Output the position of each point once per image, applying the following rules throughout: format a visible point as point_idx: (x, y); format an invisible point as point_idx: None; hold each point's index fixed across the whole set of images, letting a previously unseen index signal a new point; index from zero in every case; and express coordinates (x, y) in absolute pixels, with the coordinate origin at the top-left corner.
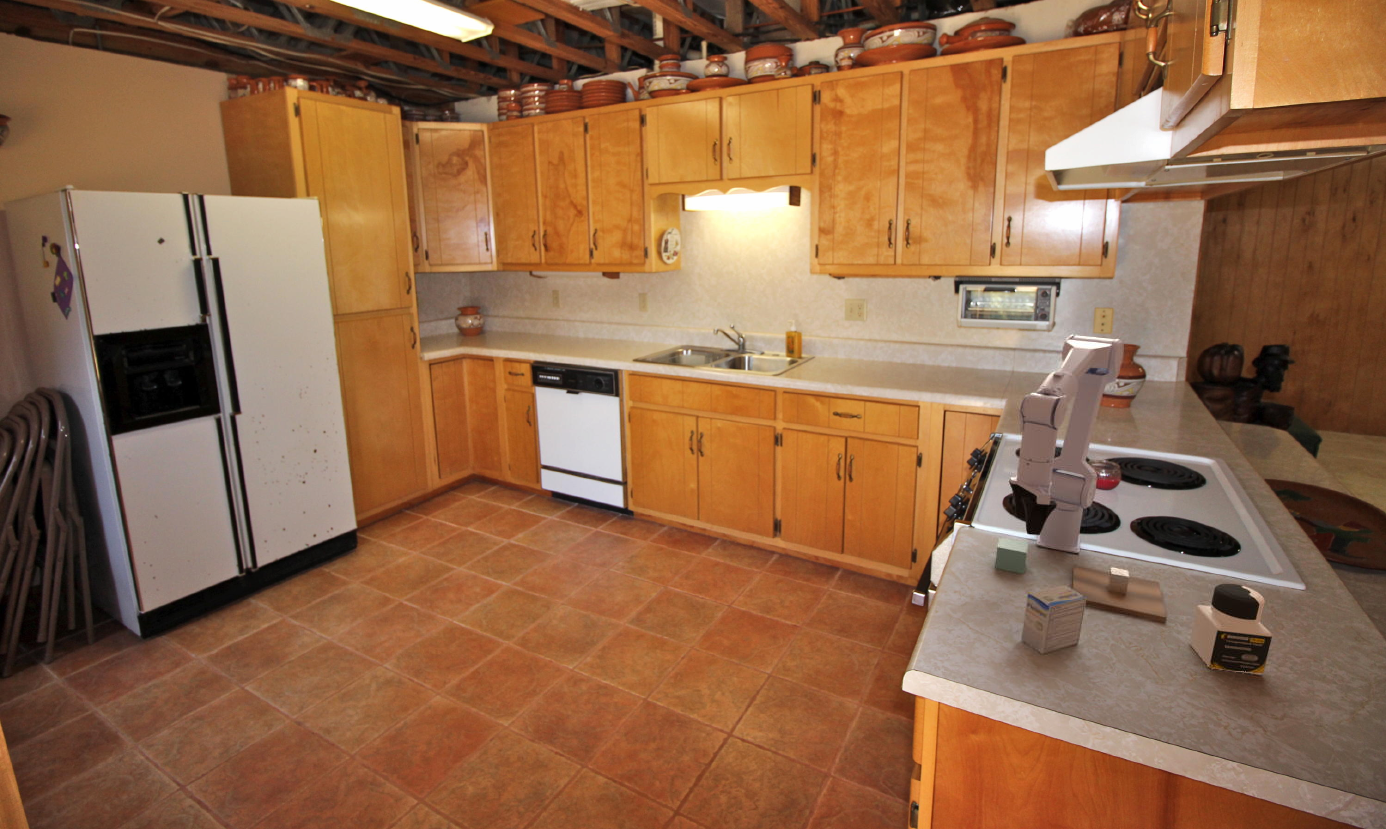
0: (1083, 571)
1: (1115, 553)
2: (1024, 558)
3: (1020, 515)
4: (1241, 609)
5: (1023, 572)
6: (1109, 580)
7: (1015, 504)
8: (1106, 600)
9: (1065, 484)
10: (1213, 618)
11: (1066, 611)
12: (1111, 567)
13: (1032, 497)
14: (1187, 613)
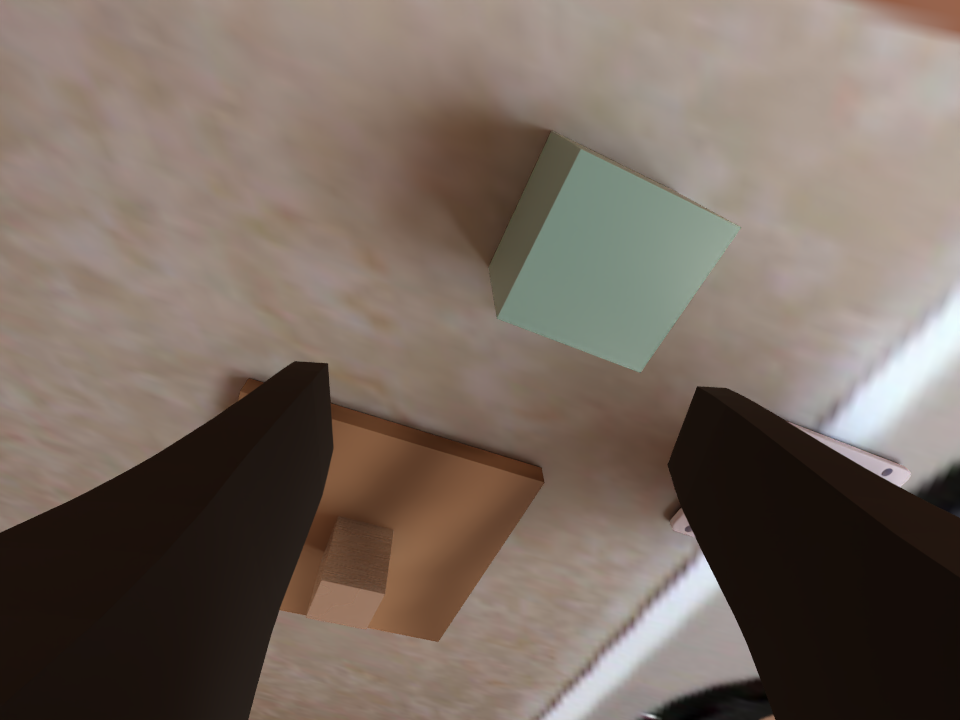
0: (489, 494)
1: (661, 606)
2: (496, 295)
3: (699, 425)
4: None
5: (489, 268)
6: (348, 549)
7: (804, 458)
8: None
9: None
10: None
11: None
12: (382, 595)
13: (787, 693)
14: (286, 630)
